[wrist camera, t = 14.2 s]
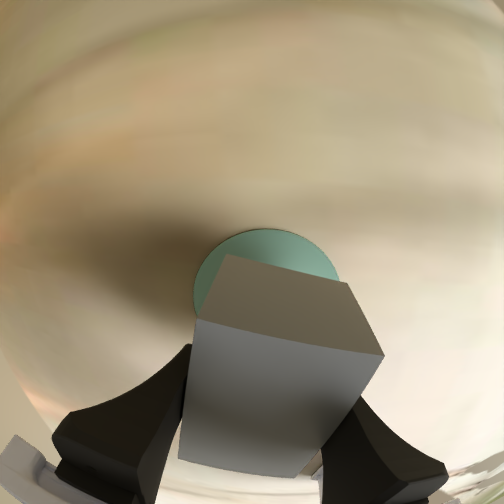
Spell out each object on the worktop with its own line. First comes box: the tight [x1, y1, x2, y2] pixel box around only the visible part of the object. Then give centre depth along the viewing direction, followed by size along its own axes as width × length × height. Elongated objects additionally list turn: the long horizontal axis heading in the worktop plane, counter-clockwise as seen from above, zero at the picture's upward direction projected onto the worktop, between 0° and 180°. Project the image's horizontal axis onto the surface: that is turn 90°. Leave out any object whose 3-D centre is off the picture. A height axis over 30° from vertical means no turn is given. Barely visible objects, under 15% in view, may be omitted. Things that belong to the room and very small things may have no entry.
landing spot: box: [193, 229, 339, 316], centre depth 19 cm, size 10×10×1 cm
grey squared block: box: [178, 254, 385, 478], centre depth 12 cm, size 9×6×6 cm, turn 167°
